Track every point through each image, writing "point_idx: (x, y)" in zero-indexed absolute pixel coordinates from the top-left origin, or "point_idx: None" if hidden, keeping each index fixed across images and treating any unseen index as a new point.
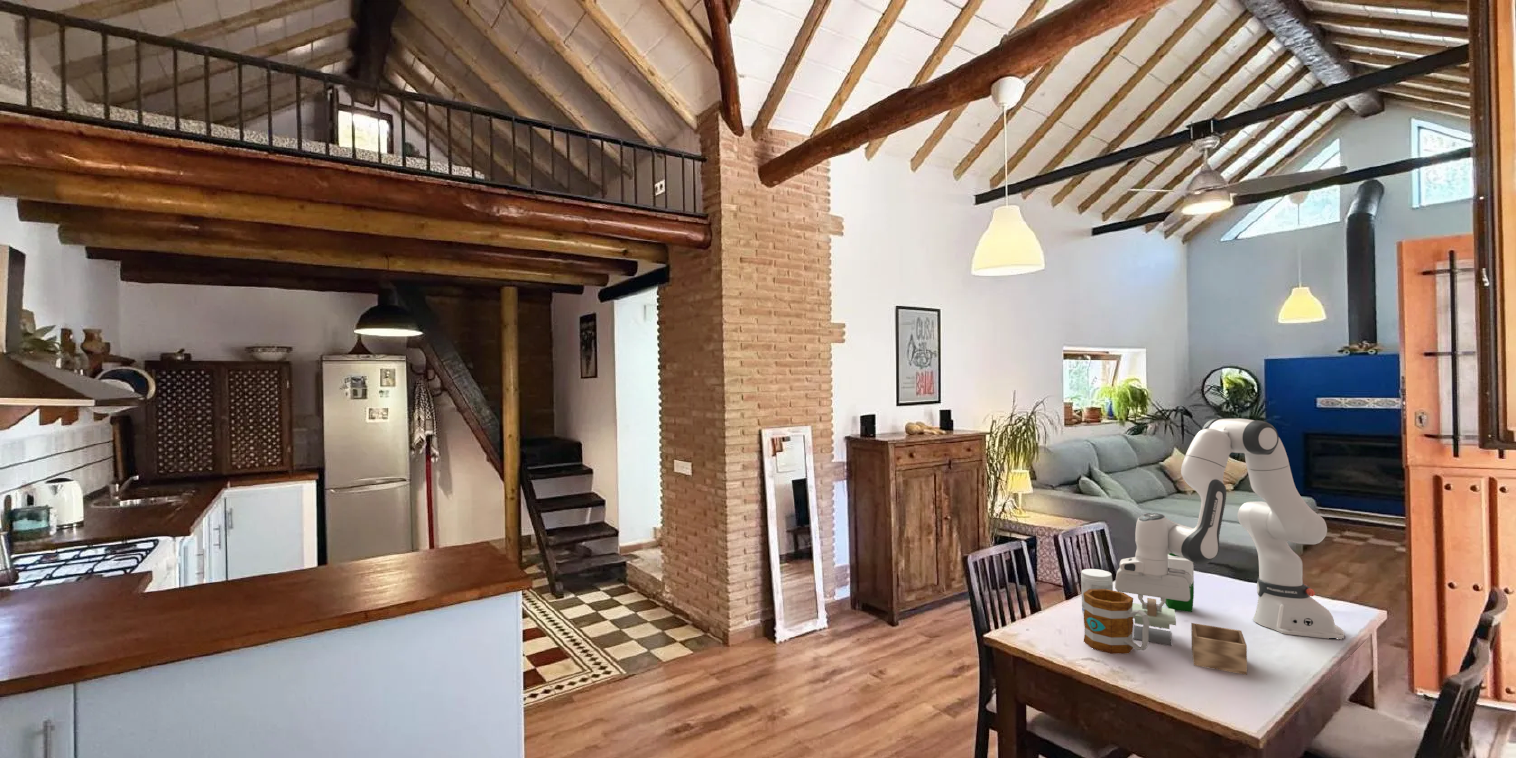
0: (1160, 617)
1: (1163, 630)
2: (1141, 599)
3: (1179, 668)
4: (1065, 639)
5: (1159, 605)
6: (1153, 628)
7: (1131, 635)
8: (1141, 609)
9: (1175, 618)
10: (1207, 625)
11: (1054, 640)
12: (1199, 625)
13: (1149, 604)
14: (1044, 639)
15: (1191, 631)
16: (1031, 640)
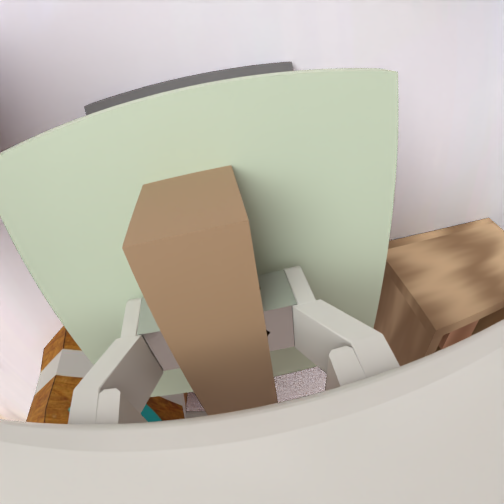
0: (289, 348)
1: (252, 73)
2: (139, 411)
3: (319, 381)
4: (32, 386)
5: (297, 341)
6: (192, 76)
7: (183, 404)
8: (127, 284)
9: (377, 305)
10: (484, 310)
11: (28, 398)
12: (456, 326)
13: (222, 408)
14: (16, 401)
15: (413, 300)
16: (13, 411)
